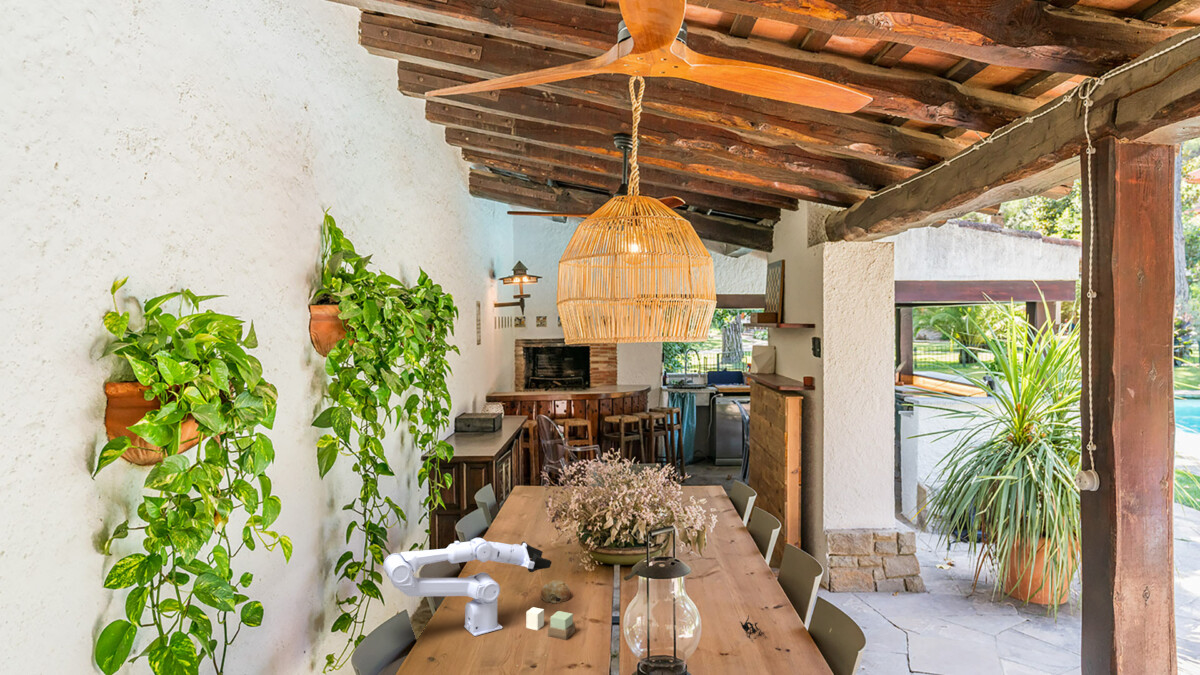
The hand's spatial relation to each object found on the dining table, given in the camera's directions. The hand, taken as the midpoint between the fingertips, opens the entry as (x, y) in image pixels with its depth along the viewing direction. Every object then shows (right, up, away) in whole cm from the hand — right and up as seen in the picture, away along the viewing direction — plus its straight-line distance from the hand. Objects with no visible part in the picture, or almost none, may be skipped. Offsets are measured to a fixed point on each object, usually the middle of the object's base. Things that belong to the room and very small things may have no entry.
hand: (545, 559), depth 213 cm
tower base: (+6, -18, -14) cm, 24 cm away
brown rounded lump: (+2, -18, +14) cm, 23 cm away
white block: (-3, -18, -9) cm, 20 cm away
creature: (+64, -19, -14) cm, 68 cm away
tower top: (+6, -15, -14) cm, 21 cm away
